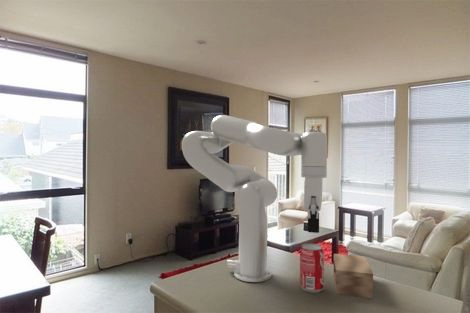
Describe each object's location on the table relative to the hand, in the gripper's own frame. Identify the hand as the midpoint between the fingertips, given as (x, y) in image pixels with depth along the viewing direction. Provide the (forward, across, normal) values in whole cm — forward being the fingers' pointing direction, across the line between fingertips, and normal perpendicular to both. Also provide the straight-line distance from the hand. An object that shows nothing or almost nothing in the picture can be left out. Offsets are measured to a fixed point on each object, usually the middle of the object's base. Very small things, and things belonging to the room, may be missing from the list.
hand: (313, 228), depth 94 cm
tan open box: (+18, -7, +12) cm, 23 cm away
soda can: (+19, 0, 0) cm, 19 cm away
